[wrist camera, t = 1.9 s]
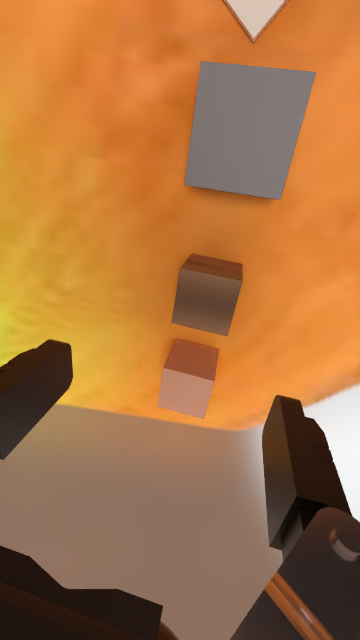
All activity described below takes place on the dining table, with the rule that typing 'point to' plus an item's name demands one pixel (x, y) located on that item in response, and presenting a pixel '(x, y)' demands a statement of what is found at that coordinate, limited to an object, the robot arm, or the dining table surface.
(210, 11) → the dining table surface
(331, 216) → the dining table surface
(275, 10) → the tile
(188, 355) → the terracotta block
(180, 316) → the walnut block
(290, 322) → the dining table surface
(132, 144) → the dining table surface
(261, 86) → the charcoal block
